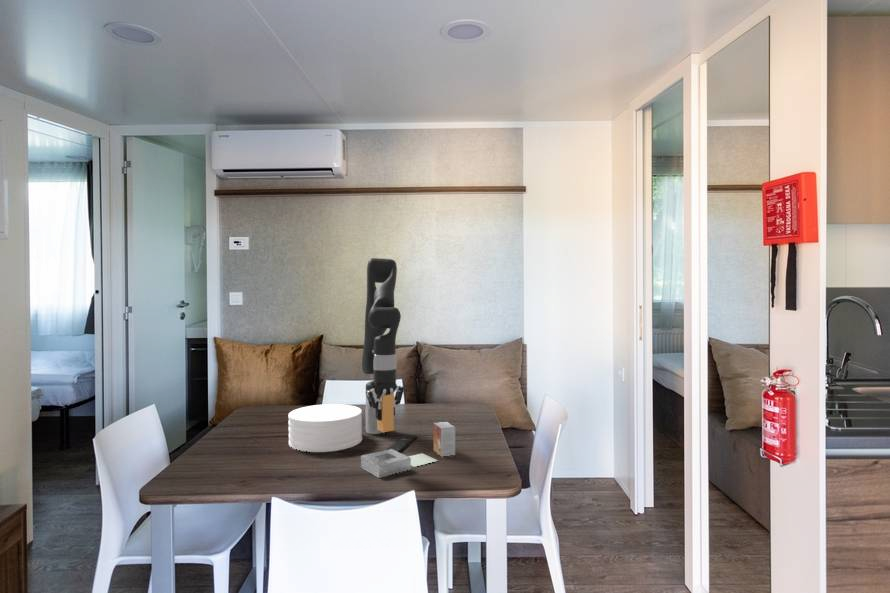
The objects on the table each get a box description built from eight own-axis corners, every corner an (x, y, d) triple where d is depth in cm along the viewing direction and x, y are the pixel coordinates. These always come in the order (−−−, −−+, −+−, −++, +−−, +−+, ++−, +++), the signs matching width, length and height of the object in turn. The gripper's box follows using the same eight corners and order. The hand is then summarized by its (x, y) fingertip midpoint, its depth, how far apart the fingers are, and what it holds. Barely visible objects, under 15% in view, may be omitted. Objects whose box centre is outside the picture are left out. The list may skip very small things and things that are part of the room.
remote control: (417, 439, 215) (417, 435, 215) (395, 458, 192) (395, 454, 192) (404, 438, 217) (404, 434, 217) (381, 457, 194) (381, 453, 194)
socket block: (361, 467, 181) (360, 455, 181) (391, 460, 188) (391, 448, 188) (378, 477, 172) (378, 465, 171) (410, 469, 179) (410, 457, 179)
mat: (398, 459, 189) (398, 458, 189) (422, 454, 195) (422, 453, 195) (414, 467, 181) (414, 466, 181) (438, 461, 187) (438, 460, 187)
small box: (433, 451, 198) (433, 422, 198) (447, 449, 200) (447, 421, 200) (440, 457, 191) (440, 428, 191) (455, 455, 193) (455, 426, 193)
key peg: (377, 429, 180) (376, 393, 180) (387, 427, 182) (387, 392, 182) (383, 432, 177) (383, 395, 176) (393, 430, 179) (393, 394, 179)
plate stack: (346, 454, 196) (345, 423, 195) (275, 450, 201) (274, 419, 201) (371, 433, 223) (371, 405, 223) (308, 429, 229) (308, 402, 228)
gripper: (397, 364, 186) (397, 413, 187) (360, 368, 178) (360, 420, 178) (409, 366, 180) (409, 417, 181) (371, 371, 172) (371, 424, 172)
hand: (385, 418), depth 179 cm, fingers closed on key peg, 4 cm apart
